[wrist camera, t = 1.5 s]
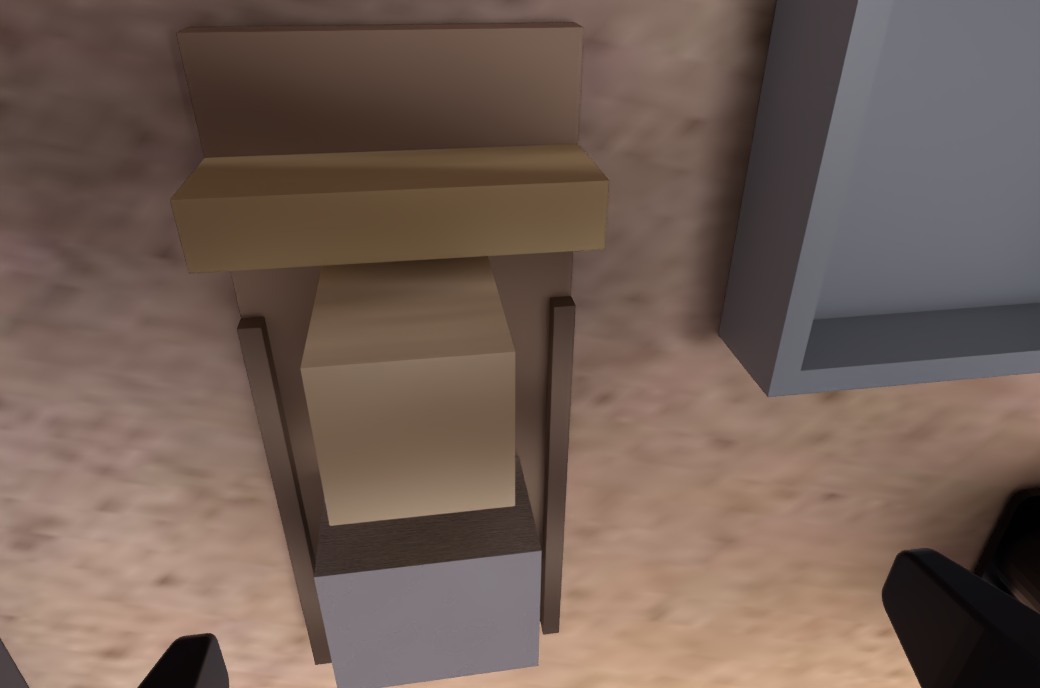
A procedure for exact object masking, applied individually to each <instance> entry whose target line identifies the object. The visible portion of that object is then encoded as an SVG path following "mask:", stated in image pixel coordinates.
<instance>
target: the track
mask: <svg viewBox="0 0 1040 688" xmlns="http://www.w3.org/2000/svg"><path fill="white" fill-rule="evenodd" d="M583 31H584V27H582V26H580V25H578V24H576V23H574V22H566V23H488V24H411V25H333V26H256V27H187V28H185V29H183V30H181V31H179V32H177V33H176V35H177V39H178V44H179V48H180V52H181V57H182V61H183V66H184V70H185V74H186V79H187V83H188V87H189V92H190V96H191V101H192V105H193V109H194V114H195V118H196V123H197V127H198V131H199V136H200V140H201V144H202V149H203V153H204V159H203V160H202V161H201V163H200V164H199V165H198V166H197V168H196V169H195V170H194V171H193V172H192V174H191V175H190V176H189V177H188V179H187V180H186V181H185V182H184V183H183V185H182V186H181V187H180V188H179V189H178V191H177V192H176V193H175V194H174V196H173V197H172V198H171V199H170V203H171V207H172V210H173V214H174V218H175V222H176V226H177V230H178V233H179V237H180V241H181V245H182V249H183V252H184V256H185V260H186V264H187V268H188V271H189V273H204V272H221V271H231V276H232V280H233V285H234V289H235V293H236V298H237V302H238V306H239V311H240V315H241V320H240V322H239V325H238V328H237V332H238V336H239V340H240V345H241V349H242V353H243V357H244V362H245V366H246V370H247V375H248V379H249V383H250V387H251V392H252V396H253V400H254V404H255V409H256V413H257V417H258V422H259V426H260V430H261V434H262V439H263V443H264V447H265V451H266V456H267V460H268V464H269V469H270V473H271V477H272V481H273V486H274V490H275V494H276V498H277V503H278V507H279V511H280V516H281V520H282V524H283V528H284V533H285V537H286V541H287V545H288V550H289V554H290V558H291V563H292V567H293V571H294V575H295V580H296V584H297V588H298V592H299V597H300V601H301V605H302V610H303V614H304V618H305V622H306V627H307V631H308V635H309V639H310V644H311V648H312V652H313V657H314V661H315V665H318V664H325V663H332V660H331V655H330V650H329V646H328V641H327V636H326V632H325V627H324V622H323V618H322V613H321V608H320V604H319V599H318V594H317V590H316V585H315V580H314V572H315V564H316V556H317V548H318V540H319V532H320V524H321V515H322V507H323V499H324V492H323V487H322V482H321V476H320V471H319V466H318V460H317V455H316V450H315V444H314V439H313V433H312V428H311V423H310V417H309V412H308V407H307V401H306V396H305V391H304V385H303V380H302V374H301V369H300V368H301V363H302V358H303V354H304V349H305V344H306V339H307V335H308V330H309V325H310V320H311V316H312V311H313V306H314V302H315V297H316V292H317V287H318V283H319V278H320V273H321V269H322V266H324V265H342V264H359V263H376V262H393V261H411V260H428V259H445V258H462V257H479V256H488V258H489V262H490V265H491V269H492V272H493V276H494V279H495V283H496V286H497V290H498V293H499V297H500V300H501V304H502V307H503V310H504V314H505V317H506V321H507V324H508V328H509V331H510V335H511V338H512V342H513V345H514V349H515V456H519V458H520V462H521V466H522V470H523V474H524V479H525V483H526V487H527V491H528V496H529V500H530V504H531V508H532V512H533V517H534V521H535V525H536V529H537V533H538V538H539V542H540V546H541V550H542V556H541V590H540V622H541V626H542V631H543V634H551V633H558V632H559V618H560V599H561V580H562V560H563V541H564V521H565V502H566V483H567V463H568V444H569V424H570V405H571V386H572V366H573V347H574V327H575V308H576V306H575V303H574V301H573V299H572V297H571V284H572V263H573V251H583V250H600V249H604V247H605V233H606V219H607V206H608V192H609V180H608V178H607V177H606V176H605V175H604V174H603V173H602V171H601V170H600V169H599V168H598V167H597V166H596V164H595V163H594V162H593V161H592V160H591V158H590V157H589V156H588V155H587V154H586V153H585V151H584V150H583V149H582V148H581V147H580V146H579V144H578V136H579V115H580V94H581V73H582V52H583Z"/></svg>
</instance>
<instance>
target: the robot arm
mask: <svg viewBox="0 0 1040 688" xmlns="http://www.w3.org/2000/svg"><path fill="white" fill-rule="evenodd" d="M882 601H883V605H884V608H885V610H886V613H887V615H888V617H889V619H890V621H891V623H892V626H893V628H894V630H895V632H896V634H897V636H898V638H899V641H900V643H901V645H902V647H903V649H904V651H905V654H906V656H907V658H908V660H909V662H910V664H911V666H912V669H913V671H914V673H915V675H916V677H917V679H918V682H919V684H920V686H921V688H1040V488H1034V489H1026V490H1022V491H1019V492H1018V493H1016V494H1015V495H1014V496H1012V498H1011V499H1010V501H1009V503H1008V505H1007V507H1006V509H1005V511H1004V513H1003V515H1002V517H1001V519H1000V521H999V523H998V525H997V527H996V530H995V532H994V534H993V536H992V538H991V540H990V542H989V544H988V546H987V548H986V550H985V552H984V554H983V556H982V558H981V560H980V562H979V564H978V566H977V568H976V570H975V572H974V574H973V573H972V572H970V571H968V570H967V569H965V568H963V567H962V566H960V565H959V564H957V563H955V562H954V561H952V560H950V559H949V558H947V557H945V556H944V555H942V554H940V553H939V552H937V551H935V550H932V549H929V548H920V549H911V550H904V551H901V552H900V553H899V554H898V555H897V556H896V558H895V560H894V563H893V565H892V567H891V570H890V572H889V574H888V577H887V579H886V581H885V583H884V586H883V589H882ZM138 688H229V677H228V672H227V669H226V666H225V663H224V659H223V656H222V653H221V650H220V647H219V643H218V640H217V638H216V637H215V636H214V635H213V634H211V633H205V634H197V635H188V636H182V637H179V638H178V639H176V640H175V641H174V642H173V643H172V644H171V645H170V647H169V648H168V649H167V650H166V652H165V653H164V654H163V656H162V657H161V658H160V659H159V661H158V662H157V663H156V664H155V666H154V667H153V668H152V670H151V671H150V672H149V673H148V675H147V676H146V677H145V679H144V680H143V681H142V682H141V684H140V685H139V686H138Z"/></svg>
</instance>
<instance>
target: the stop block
mask: <svg viewBox="0 0 1040 688" xmlns="http://www.w3.org/2000/svg"><path fill="white" fill-rule="evenodd" d="M300 369H301V374H302V380H303V385H304V391H305V396H306V401H307V407H308V412H309V417H310V423H311V428H312V433H313V439H314V444H315V450H316V455H317V460H318V466H319V471H320V476H321V482H322V487H323V492H324V498H325V503H326V508H327V514H328V519H329V525H330V526H333V525H343V524H352V523H361V522H371V521H380V520H389V519H399V518H408V517H417V516H427V515H436V514H445V513H455V512H464V511H473V510H483V509H492V508H501V507H511V506H515V349H514V345H513V342H512V338H511V335H510V331H509V328H508V324H507V321H506V317H505V314H504V310H503V307H502V304H501V300H500V297H499V293H498V290H497V286H496V283H495V279H494V276H493V272H492V269H491V265H490V262H489V258H488V256H479V257H462V258H445V259H428V260H411V261H393V262H376V263H359V264H342V265H324V266H322V269H321V273H320V278H319V283H318V287H317V292H316V297H315V302H314V306H313V311H312V316H311V320H310V325H309V330H308V335H307V339H306V344H305V349H304V354H303V358H302V363H301V368H300Z"/></svg>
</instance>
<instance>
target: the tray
mask: <svg viewBox="0 0 1040 688" xmlns="http://www.w3.org/2000/svg"><path fill="white" fill-rule="evenodd" d="M719 337H720V338H721V339H722V340H723V342H724V343H725V344H726V345H727V347H728V348H729V349H730V350H731V352H732V353H733V354H734V355H735V357H736V358H737V359H738V360H739V362H740V363H741V364H742V365H743V367H744V368H745V369H746V370H747V372H748V373H749V374H750V375H751V377H752V378H753V379H754V380H755V382H756V383H757V384H758V385H759V387H760V388H761V389H762V390H763V392H764V393H765V394H766V395H767V397H774V396H785V395H797V394H808V393H819V392H830V391H841V390H852V389H863V388H874V387H885V386H896V385H907V384H918V383H929V382H940V381H951V380H963V379H974V378H985V377H996V376H1007V375H1018V374H1029V373H1040V0H777V3H776V8H775V14H774V20H773V26H772V31H771V37H770V43H769V49H768V54H767V60H766V66H765V72H764V77H763V83H762V89H761V94H760V100H759V106H758V112H757V117H756V123H755V129H754V135H753V140H752V146H751V152H750V158H749V163H748V169H747V175H746V180H745V186H744V192H743V198H742V203H741V209H740V215H739V221H738V226H737V232H736V238H735V244H734V249H733V255H732V261H731V266H730V272H729V278H728V284H727V289H726V295H725V301H724V307H723V312H722V318H721V324H720V330H719Z"/></svg>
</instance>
